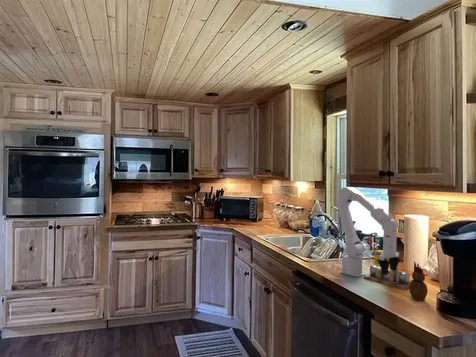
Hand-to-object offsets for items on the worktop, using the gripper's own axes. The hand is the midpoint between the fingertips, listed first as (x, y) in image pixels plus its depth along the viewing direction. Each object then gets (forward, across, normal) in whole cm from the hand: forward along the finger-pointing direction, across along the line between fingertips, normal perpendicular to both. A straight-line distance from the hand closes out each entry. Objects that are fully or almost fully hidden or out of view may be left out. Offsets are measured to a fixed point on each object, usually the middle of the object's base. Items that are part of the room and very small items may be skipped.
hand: (388, 273), depth 165 cm
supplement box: (+4, +13, +10) cm, 17 cm away
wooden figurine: (+4, -13, -20) cm, 24 cm away
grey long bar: (+3, 0, 0) cm, 3 cm away
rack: (+4, 0, 0) cm, 4 cm away
